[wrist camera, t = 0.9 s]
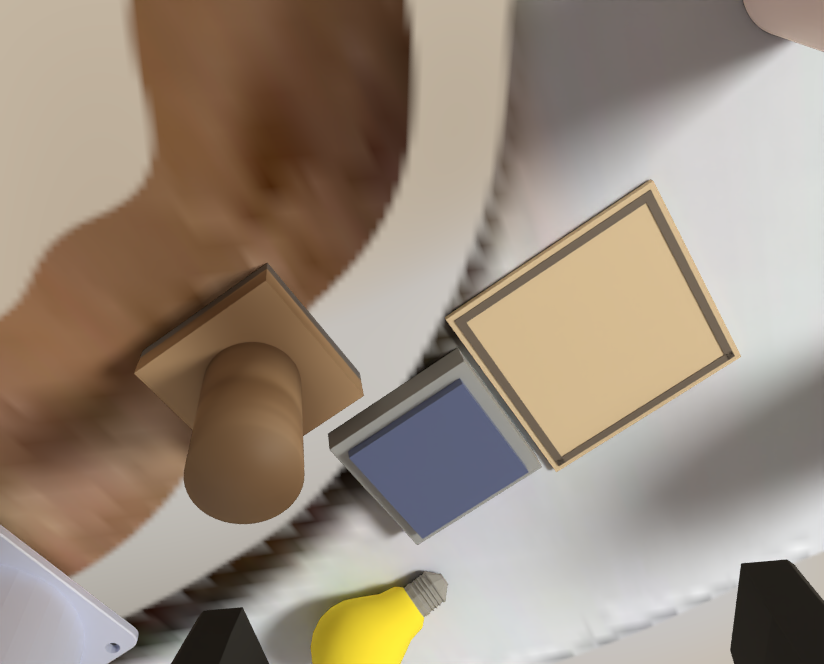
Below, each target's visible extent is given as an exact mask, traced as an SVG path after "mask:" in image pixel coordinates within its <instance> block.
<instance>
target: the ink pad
mask: <svg viewBox="0 0 824 664" xmlns="http://www.w3.org/2000/svg"><path fill="white" fill-rule="evenodd" d="M328 437H329V448H330V451H331V452H332V453H333V454H334V455H335V456H336V457H337V458H338V459H339V460H340V462H341V463H342V464H343V465H344V466H345V467H346V468H347V469H348V470H349V471H350V472H351V474H352V475H353V476H354V477H355V478H356V479H357V480H358V481H359V482H360V483H361V484H362V486H363V487H364V488H365V489H366V490H367V491H368V492H369V493H370V494H371V495H372V496H373V498H374V499H375V500H376V501H377V502H378V503H379V504H380V505H381V506H382V507H383V508H384V510H385V511H386V512H387V513H388V514H389V515H390V516H391V517H392V518H393V519H394V520H395V521H396V523H397V524H398V525H399V526H400V527H401V528H402V529H403V530H404V531H405V532H406V533H407V535H408V536H409V537H410V538H411V539H412V540H413V541H414V542H415V543H416V544H417V545H419V544H420V543H422V542H423V541H425V540H426V539H428V538H430V537H431V536H433V535H434V534H436V533H438V532H439V531H441V530H442V529H444V528H446V527H447V526H449V525H450V524H452V523H454V522H455V521H457V520H458V519H460V518H462V517H463V516H465V515H466V514H468V513H469V512H471V511H473V510H474V509H476V508H477V507H479V506H481V505H482V504H484V503H485V502H487V501H489V500H490V499H492V498H493V497H495V496H497V495H498V494H500V493H501V492H503V491H504V490H506V489H508V488H509V487H511V486H512V485H514V484H516V483H517V482H519V481H520V480H522V479H524V478H525V477H527V476H528V475H530V474H532V473H533V472H535V471H536V470H538V469H540V468H541V467H542V466H541V464H540V462H539V460H538V458H537V457H536V455H535V453H534V451H533V450H532V448H531V447H530V446H529V444H528V443H527V441H526V440H525V439H524V437H523V436H522V435H521V433H520V432H519V431H518V429H517V428H516V426H515V425H514V424H513V422H512V421H511V420H510V418H509V417H508V416H507V414H506V413H505V411H504V410H503V409H502V407H501V406H500V405H499V403H498V402H497V401H496V399H495V398H494V396H493V395H492V394H491V392H490V391H489V390H488V388H487V387H486V385H485V384H484V383H483V381H482V380H481V379H480V377H479V376H478V375H477V373H476V372H475V370H474V369H473V368H472V366H471V365H470V364H469V362H468V361H467V360H466V358H465V357H464V355H463V354H462V353H461V351H460V350H459V349H458V348H457V349H455V350H454V351H452V352H451V353H449V354H448V355H446V356H445V357H443V358H442V359H440V360H439V361H437V362H436V363H434V364H433V365H431V366H430V367H428V368H427V369H425V370H424V371H422V372H421V373H419V374H417V375H416V376H414V377H413V378H411V379H410V380H408V381H407V382H405V383H404V384H402V385H401V386H399V387H398V388H396V389H395V390H393V391H392V392H390V393H389V394H387V395H386V396H384V397H383V398H381V399H380V400H379V401H377V402H375V403H374V404H372V405H371V406H369V407H368V408H366V409H365V410H363V411H362V412H360V413H359V414H357V415H356V416H354V417H353V418H351V419H350V420H348V421H347V422H345V423H344V424H342V425H341V426H339V427H338V428H336V429H334V430H333V431H331V432H330V433H329V434H328Z"/></svg>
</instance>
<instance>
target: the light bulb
mask: <svg viewBox="0 0 824 664" xmlns="http://www.w3.org/2000/svg"><path fill="white" fill-rule="evenodd" d="M412 581H413V582H412V583H411V584H409V583H408V584H407V586H406V587H405V588H403V587H392V588H391V589H389V590H387V591H385V592H383V593H381V594H377V595H370V596H364V597H358V598H353V599H348V600H344V601H342V602H340V603H338V604H336V605H334V606H332V607H331V608H330V609H329V610H328V611H327V612H326V613H325V614H324V615H323V616H322V617H321V618H320V620H319V622H318V624H317V626H316V628H315V630H314V632H313V636H312V642H311V655H312V663H313V664H400V663H401V661H402V659H403V657H404V655H405V653H406V650H407V648H408V646H409V644H410V642H411V640H412V639H413V637H414V636H415V635H416V634H417V633H418V632H419V631H420V630H421V629H422V626H423V621H424V617H425V616H427V615H428V614H430V611H432V610H433V611H434V608H437V606H438V605H440V604H441V603H442V602H445V601H446V593H447V586H448V583H447V582H446V580H445V579H444V577H443V576H442V575H441V573H440V574H437V573H432V572H427V571H424V572H423V574H422V575H419V577H418V578H416V580H412Z"/></svg>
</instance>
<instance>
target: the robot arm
mask: <svg viewBox="0 0 824 664" xmlns="http://www.w3.org/2000/svg"><path fill="white" fill-rule="evenodd" d="M137 639H138V631H137V629H136V628H135V627H134V626H132V625H131V624H130V623H128V622H127V621H126V620H124V619H123V618H122V617H120V616H119V615H118V614H116V613H115V612H114V611H113V610H111V609H110V608H109V607H107V606H106V605H104V604H103V603H102V602H101V601H100V600H98V599H97V598H96V597H94V596H93V595H92V594H90V593H89V592H88V591H86V590H85V589H84V588H83V587H81V586H80V585H79V584H77V583H76V582H75V581H73V580H72V579H71V578H69V577H68V576H67V575H66V574H64V573H63V572H62V571H60V570H59V569H58V568H56V567H55V566H54V565H53V564H51V563H50V562H49V561H47V560H46V559H45V558H43V557H42V556H41V555H39V554H38V553H37V552H36V551H34V550H33V549H32V548H30V547H29V546H28V545H26V544H25V543H24V542H22V541H21V540H20V539H19V538H17V537H16V536H15V535H13V534H12V533H11V532H9V531H8V530H7V529H5V528H4V527H3V526H2V525H0V664H108V663H109V662H111V661H112V660H114V659H116V658H117V657H119V656H120V655H122V654H123V653H125V652H126V651H128V650H129V649H131V648H133V647H134V646H135V645H136V642H137ZM110 643H116V644H117V645H112V644H110ZM730 650H731V654H732V657H733V661H734V664H824V600H823V599H822V598H821V597H820V596H819V594H818V593H817V592H816V591H815V590H814V588H813V587H812V586H811V585H810V583H809V582H808V581H807V580H806V579H805V577H804V576H803V575H802V574H801V573H800V571H799V570H798V569H797V567H796V566H795V565H794V564H793V563H791V562H790V561H788V560H776V561H765V562H753V563H742V564H741V569H740V577H739V585H738V593H737V601H736V609H735V618H734V625H733V633H732V641H731V649H730ZM171 664H269V662H268V660H267V658H266V656H265V654H264V652H263V650H262V648H261V645H260V643H259V641H258V639H257V637H256V635H255V633H254V631H253V628H252V626H251V624H250V622H249V620H248V618H247V616H246V613H245V611H244V609H243V607H241V608H230V609H218V610H207V611H203V612H202V613H201V615H200V616H199V617H198V619H197V621H196V622H195V624H194V626H193V627H192V629H191V631H190V632H189V634H188V636H187V638H186V639H185V641H184V643H183V644H182V646H181V648H180V649H179V651H178V653H177V654H176V656H175V658H174V660H173V661H172V663H171Z"/></svg>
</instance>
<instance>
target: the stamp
mask: <svg viewBox="0 0 824 664" xmlns="http://www.w3.org/2000/svg"><path fill="white" fill-rule="evenodd" d="M134 374H135V375H136V376H137V377H138V378H139V379H140V380H141V381H142V382H143V383H144V384H146V385H147V386H148V387H149V388H150V389H151V390H152V391H153V392H154V393H155V394H156V395H157V396H158V397H159V398H160V399H161V400H162V401H163V402H164V403H165V404H166V405H167V406H168V407H169V408H170V409H171V410H172V411H173V412H174V413H175V414H176V415H177V416H178V417H179V418H180V419H181V420H183V421H184V422H185V423H186V424H187V425H188V426H189V427H190V428H191V429H192V430H193V431H192V435H191V440H190V445H189V450H188V454H187V459H186V464H185V469H184V484H185V488H186V490H187V493H188V495H189V497H190V499H191V500H192V501H193V503H194V504H195V505H196V506H197V507H198V508H199V509H200V510H202V511H203V512H204V513H206V514H207V515H209V516H211V517H213V518H215V519H218V520H221V521H224V522H228V523H235V524H252V523H258V522H262V521H266V520H268V519H271V518H273V517H276V516H277V515H279V514H281V513H282V512H284V511H285V510H286V509H288V508H289V507H290V506H291V505H292V504H293V503H294V501H295V500H296V499H297V497H298V496H299V494H300V492H301V489H302V487H303V483H304V450H303V436H304V435H305V434H307V433H308V432H310V431H311V430H313V429H315V428H316V427H318V426H319V425H320V424H322V423H324V422H325V421H327V420H328V419H330V418H331V417H332V416H334V415H335V414H337V413H339V412H340V411H342V410H343V409H345V408H346V407H348V406H349V405H351V404H352V403H354V402H355V401H357V400H358V399H360V398H361V397H363V396H364V394H363V389H362V383H361V378H360V373H359V372H358V370H357V369H356V368H355V366H354V365H353V364H352V363H351V362H350V360H349V359H348V358H347V357H346V356H345V354H344V353H343V352H342V351H341V350H340V348H339V347H338V346H337V345H336V344H335V343H334V341H333V340H332V339H331V338H330V337H329V335H328V334H327V333H326V332H325V330H324V329H323V328H322V327H321V326H320V324H319V323H318V322H317V321H316V320H315V318H314V317H313V316H312V315H311V314H310V312H309V311H307V310H306V309H305V307H304V306H303V305H302V304H301V303H300V301H299V300H298V299H297V298H296V297H295V295H294V294H293V293H292V292H291V291H290V289H289V288H288V287H287V286H286V285H285V283H284V282H283V281H282V280H281V279H280V277H279V276H278V275H277V274H276V273H275V271H274V270H273V269H272V268H271V267H270V265H269V264H268V263H266V264H265V265H263V266H262V267H261V268H259V269H258V270H256V271H255V272H254V273H252V274H251V275H249V276H248V277H246V278H245V279H244V280H242V281H241V282H239V283H238V284H237V285H235V286H234V287H232V288H231V289H229V290H228V291H227V292H225V293H224V294H222V295H221V296H220V297H218V298H217V299H215V300H214V301H213V302H211V303H210V304H208V305H207V306H205V307H204V308H203V309H201V310H200V311H198V312H197V313H196V314H194V315H193V316H191V317H190V318H188V319H187V320H186V321H184V322H183V323H181V324H180V325H179V326H177V327H176V328H174V329H173V330H172V331H170V332H169V333H167V334H166V335H164V336H163V337H162V338H160V339H159V340H157V341H156V342H155V343H153V344H152V345H150V346H149V347H147V348H146V349H145V350H143V352H142V354H141V357H140V359H139V362H138V364H137V367H136V369H135V372H134Z"/></svg>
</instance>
